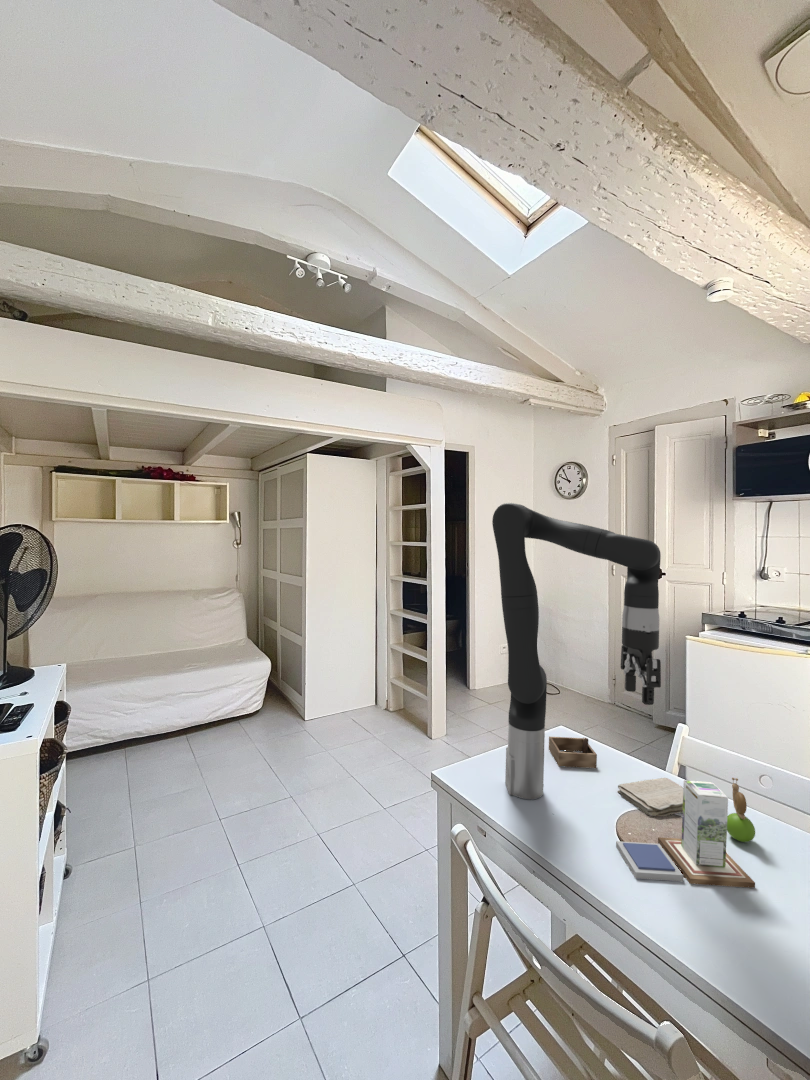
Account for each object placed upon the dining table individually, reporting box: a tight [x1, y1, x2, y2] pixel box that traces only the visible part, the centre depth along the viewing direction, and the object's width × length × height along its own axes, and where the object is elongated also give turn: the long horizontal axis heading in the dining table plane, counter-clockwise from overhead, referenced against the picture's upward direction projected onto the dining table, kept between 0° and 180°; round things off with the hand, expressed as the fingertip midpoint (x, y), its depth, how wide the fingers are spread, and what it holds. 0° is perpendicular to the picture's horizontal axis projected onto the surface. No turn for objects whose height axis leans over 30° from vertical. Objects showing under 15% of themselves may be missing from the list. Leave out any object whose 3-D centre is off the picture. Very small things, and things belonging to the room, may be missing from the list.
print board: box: [657, 836, 756, 889], centre depth 91 cm, size 12×12×1 cm
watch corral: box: [548, 736, 598, 769], centre depth 135 cm, size 11×11×4 cm
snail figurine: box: [727, 777, 756, 843], centre depth 100 cm, size 5×6×12 cm
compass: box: [562, 737, 589, 753], centre depth 134 cm, size 8×8×7 cm
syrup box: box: [681, 780, 729, 867], centre depth 92 cm, size 6×6×14 cm
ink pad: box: [615, 840, 684, 882], centre depth 91 cm, size 9×9×2 cm
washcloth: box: [617, 777, 683, 817], centre depth 114 cm, size 12×18×3 cm, turn 108°
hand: (638, 697), depth 102 cm, fingers open, 8 cm apart
